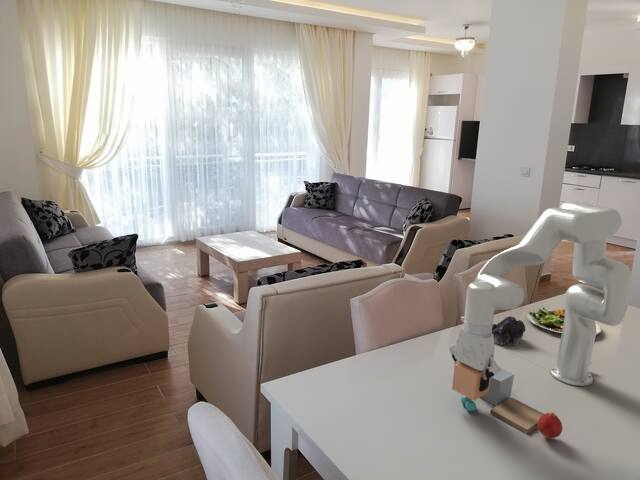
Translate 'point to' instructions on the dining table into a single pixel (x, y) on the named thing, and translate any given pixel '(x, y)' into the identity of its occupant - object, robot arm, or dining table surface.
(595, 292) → the robot arm
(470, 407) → the teal marble
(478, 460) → the dining table surface
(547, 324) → the plate of food
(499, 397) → the gray cube
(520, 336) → the crystal cluster
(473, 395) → the peach cube
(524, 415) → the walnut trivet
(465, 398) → the teal marble
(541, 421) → the red rounded lump
